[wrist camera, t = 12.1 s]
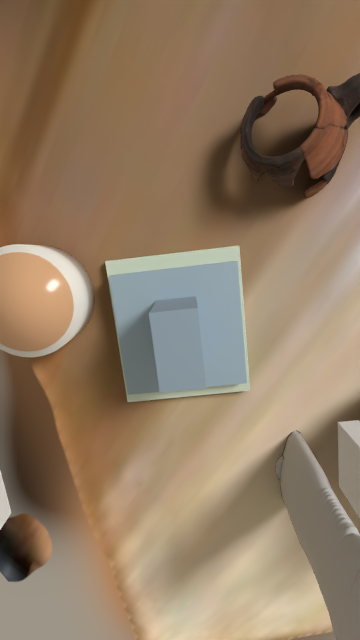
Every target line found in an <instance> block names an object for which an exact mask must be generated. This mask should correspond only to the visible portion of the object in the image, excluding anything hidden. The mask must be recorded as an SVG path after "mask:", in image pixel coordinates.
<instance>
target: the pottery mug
mask: <svg viewBox="0 0 360 640" xmlns="http://www.w3.org/2000/svg"><path fill="white" fill-rule="evenodd" d="M273 85H274V89H275V90H274V91H272V92H271V93H269V94H268V95H266V96H265V97H263V96H258V97H255V98H254V99H253V100H252V102H251V103H250V105H249V107H248V108H247V111H246V113H245V115H244V118H243V121H242V125H241V134H242V135H241V149H242V157H243V160H244V162H245V163H246V165H247V167H248V169H249V170H250V172H251V175H252V177H253V179H254V180H255V182H257V181H258V180H259V177H260V176H261V175H262V174H263V173H264V172H265V171H266V170H267V171H268V174H269V177H271V179H272V180H273V181H275V182H277V183H278V184H279V185H280V186H281V187H283V188H286V187H292V186H293V185H294V177H295V176H296V174H297V172H298V169H299V167H300V166H301V164H302V162H303V161H305V162H306V165H307V167H308V169H309V175H310V177H311V178H313V179H318V178H319V177H321V176H322V177H323V179H322V180H321V181H319V182H318V183H316V184H315V185H313V186H311V187H309V188H307V189H306V190H304V194H305V197H310V196H313V195H314V194H316V193H318V192H319V191H320V190H322V189H323V188H324V187H325V186H326V185H327V184H328V183H329V182H330V180H331V179H332V177H333V176H334V174H335V172H336V169H337V167H338V165H339V162H340V160H341V157H342V155H343V153H344V150H345V147H346V143H347V138H348V128H349V126H350V125H351V124H352V123H353V122H354V120H356V119H357V118H358V117H360V73H359V74H357V75H355V76H353V77H351V78H350V79H348V80H347V81H346V82H344V83H343V84H341V85H339V86H334V87H333V86H330V87H328V88H327V91H326V89H325V88H324V86H323V85H322V84H321V83H320V82H319V81H317V80H316V79H314V78H311V77H309V76H306V75H290V76H286V77H283V78H280V79H278V80H276V81H275V82H274V83H273ZM295 89H300V90H305V91H308V92H310V93H311V94H312V95H313V96H315V98H316V100H317V102H318V106H319V114H318V119H317V122H316V125H315V127H314V129H313V131H312V132H311V134H310V135H309V137H308V138H307V139H306V140H305V141H304V142H303V143H302V144H301V145H300V146H299V148H297V149H295V150H293V151H291V152H289V153H287V154H285V155H281V156H264V155H262V154H260V153H259V152H258V151H257V150H256V149H255V148H254V146H253V144H252V140H251V131H252V126H253V123H254V120H255V118H256V116H257V114H258V113H259V114H263V115H264V114H266V113H267V112H268V111H269V110H270V109H271V108H272V107H273V105H274V104H275V103H276V101H277V97H276V96H277V95H279V94H281V93H283V92H286V91H290V90H295Z"/></svg>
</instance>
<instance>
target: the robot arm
mask: <svg viewBox="0 0 360 640" xmlns="http://www.w3.org/2000/svg"><path fill="white" fill-rule="evenodd" d="M338 466H339V487H340V489H341V491H342V492H343V494H344V495H345V497H346V498H347V500H348V502H349V503H350V505H351V506H352V508H353V509H354V511H355V513H356V514H357V516H358V517H359V519H360V421H359V420H355V421H343V422H338ZM10 514H11V510H10V506H9V502H8V498H7V494H6V490H5V486H4V483H3V479H2V475H1V471H0V529H1V528H2V526H3V525H4V523H5V522H6V520H7V519H8V517H9V516H10Z"/></svg>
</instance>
